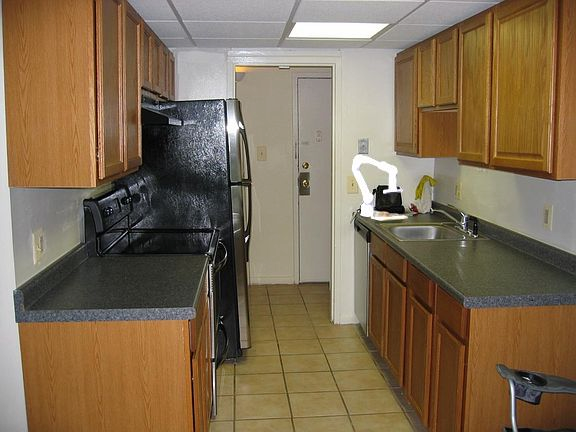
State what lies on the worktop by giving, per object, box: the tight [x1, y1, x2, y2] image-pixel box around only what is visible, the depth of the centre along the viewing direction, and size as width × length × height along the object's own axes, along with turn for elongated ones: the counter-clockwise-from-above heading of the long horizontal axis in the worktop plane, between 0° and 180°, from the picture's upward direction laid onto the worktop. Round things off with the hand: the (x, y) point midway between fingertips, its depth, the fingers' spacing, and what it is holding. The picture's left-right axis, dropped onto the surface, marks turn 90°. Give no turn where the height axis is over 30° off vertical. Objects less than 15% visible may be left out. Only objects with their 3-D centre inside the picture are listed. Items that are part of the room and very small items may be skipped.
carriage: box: [380, 211, 392, 216], centre depth 436 cm, size 10×3×3 cm, turn 23°
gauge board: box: [370, 210, 409, 222], centre depth 437 cm, size 13×22×5 cm, turn 113°
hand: (392, 202), depth 447 cm, fingers closed
